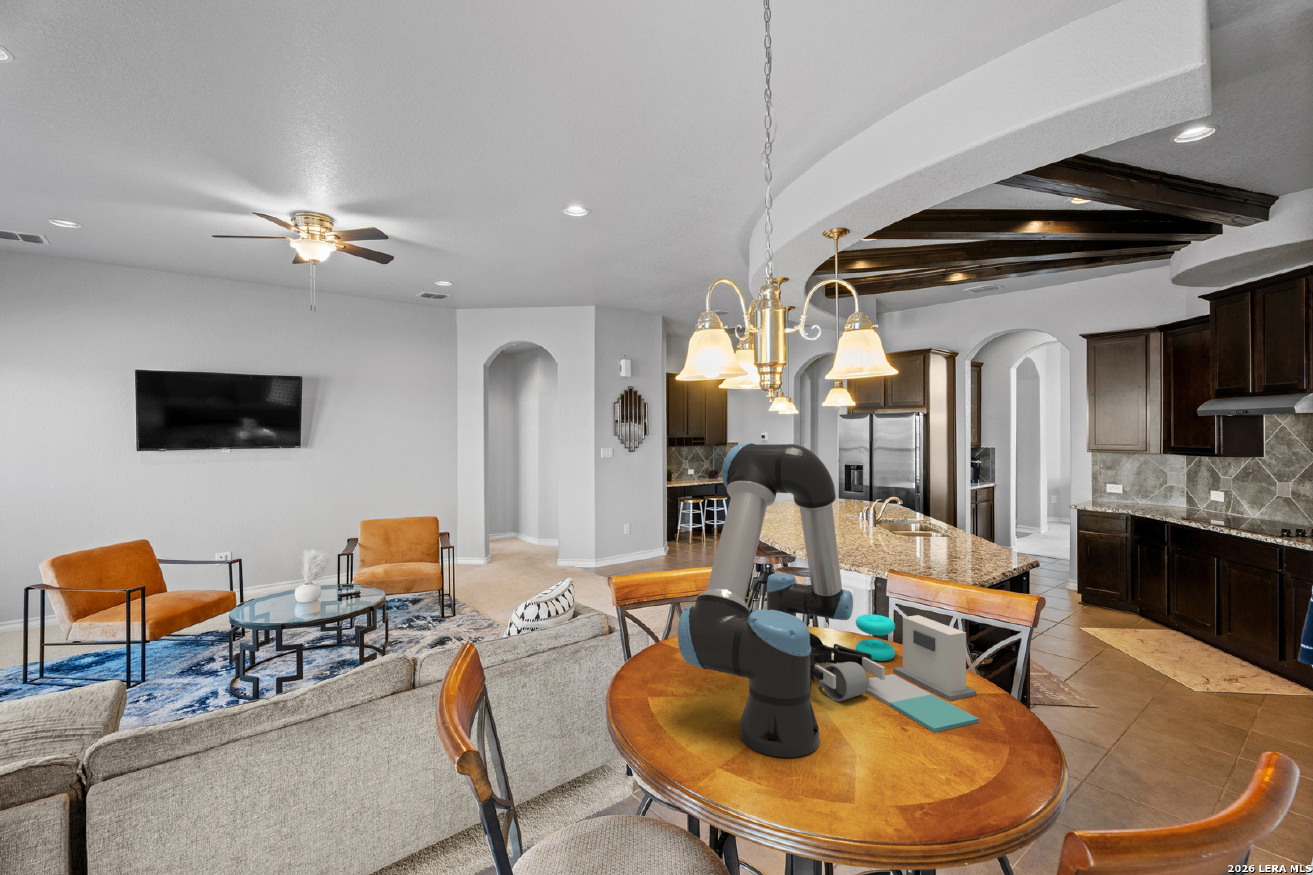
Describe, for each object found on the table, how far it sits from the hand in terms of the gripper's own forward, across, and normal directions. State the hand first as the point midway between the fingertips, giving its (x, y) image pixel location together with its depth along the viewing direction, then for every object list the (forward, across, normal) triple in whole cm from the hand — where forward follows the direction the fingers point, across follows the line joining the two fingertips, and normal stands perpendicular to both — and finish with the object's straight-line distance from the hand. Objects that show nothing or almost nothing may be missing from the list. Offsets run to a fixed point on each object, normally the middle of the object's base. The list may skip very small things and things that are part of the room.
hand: (859, 677), depth 125 cm
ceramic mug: (-6, 0, -6) cm, 9 cm away
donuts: (-22, -24, -6) cm, 33 cm away
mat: (+3, -12, -6) cm, 14 cm away
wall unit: (-3, -24, -6) cm, 25 cm away
